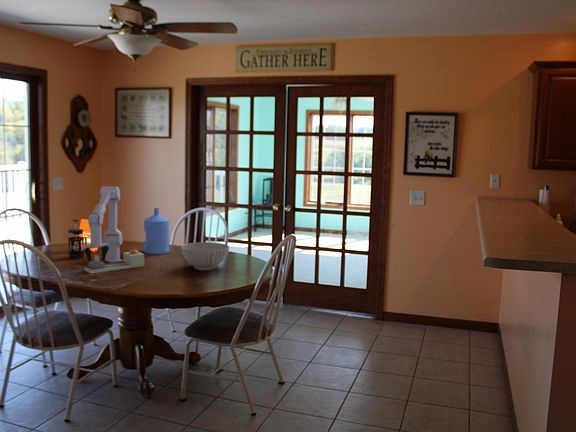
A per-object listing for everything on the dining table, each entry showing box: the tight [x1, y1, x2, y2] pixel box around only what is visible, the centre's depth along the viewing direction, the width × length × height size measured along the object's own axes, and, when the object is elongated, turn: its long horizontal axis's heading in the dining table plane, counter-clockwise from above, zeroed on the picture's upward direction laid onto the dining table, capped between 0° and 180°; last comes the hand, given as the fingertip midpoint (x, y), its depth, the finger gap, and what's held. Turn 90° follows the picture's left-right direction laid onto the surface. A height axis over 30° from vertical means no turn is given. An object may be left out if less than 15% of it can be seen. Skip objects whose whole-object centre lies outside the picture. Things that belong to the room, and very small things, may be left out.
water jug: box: [143, 207, 170, 255], centre depth 356 cm, size 16×16×28 cm
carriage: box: [88, 254, 106, 268], centre depth 306 cm, size 7×6×6 cm
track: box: [84, 251, 145, 274], centre depth 313 cm, size 10×30×7 cm, turn 130°
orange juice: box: [78, 218, 98, 252], centre depth 356 cm, size 8×9×20 cm
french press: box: [67, 218, 87, 260], centre depth 336 cm, size 12×9×23 cm
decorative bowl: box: [180, 241, 230, 271], centre depth 319 cm, size 27×27×12 cm
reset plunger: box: [129, 248, 138, 254], centre depth 319 cm, size 4×4×4 cm
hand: (96, 260), depth 306 cm, fingers open, 7 cm apart
